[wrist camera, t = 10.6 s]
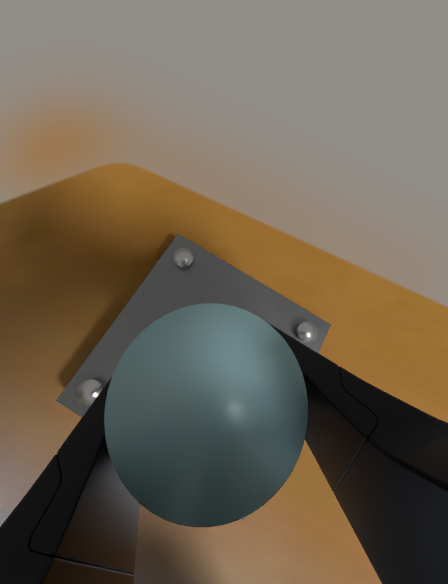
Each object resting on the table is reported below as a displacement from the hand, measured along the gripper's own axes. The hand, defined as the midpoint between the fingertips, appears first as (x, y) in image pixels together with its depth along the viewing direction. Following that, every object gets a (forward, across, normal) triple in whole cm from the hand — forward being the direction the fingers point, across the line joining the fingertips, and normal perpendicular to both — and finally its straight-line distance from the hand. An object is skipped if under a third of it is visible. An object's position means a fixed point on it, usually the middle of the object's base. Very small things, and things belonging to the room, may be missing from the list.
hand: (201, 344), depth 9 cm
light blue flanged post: (+4, 0, +6) cm, 7 cm away
